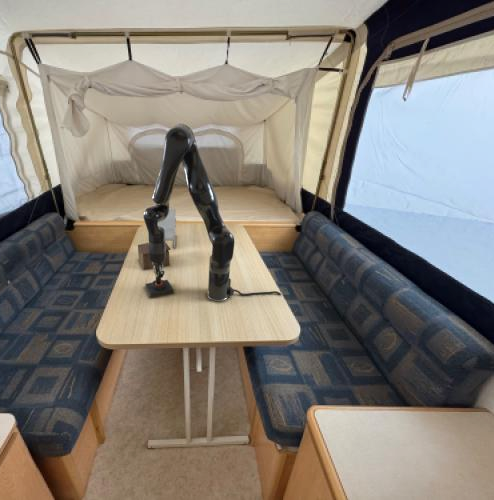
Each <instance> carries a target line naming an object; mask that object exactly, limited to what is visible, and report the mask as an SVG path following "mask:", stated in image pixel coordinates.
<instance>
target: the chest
mask: <svg viewBox="0 0 494 500" xmlns="http://www.w3.org/2000/svg"><path fill="white" fill-rule="evenodd" d="M137 254H138V261H139V263H140V265H141V267H142V269H143V271H146V270H152V269H153V265H152V262H151V261H150V260H149V254H147V255H142V253H141V251H140V249H139V247H138V246H137ZM162 264H163V268H164V267H169V266H170V250H167V251H166V260H165V261H163V262H162Z"/></svg>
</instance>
